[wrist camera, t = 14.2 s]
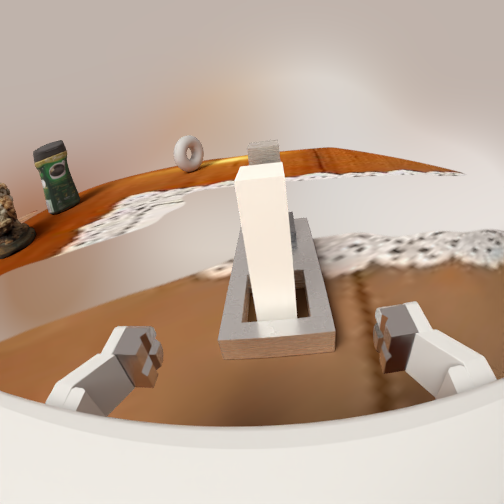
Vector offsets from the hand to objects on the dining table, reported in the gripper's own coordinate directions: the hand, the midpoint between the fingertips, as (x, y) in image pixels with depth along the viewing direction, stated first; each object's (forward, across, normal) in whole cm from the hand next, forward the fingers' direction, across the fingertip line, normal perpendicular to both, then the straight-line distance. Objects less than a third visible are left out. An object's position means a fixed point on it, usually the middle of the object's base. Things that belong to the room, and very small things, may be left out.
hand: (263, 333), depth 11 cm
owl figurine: (+38, +57, +9) cm, 69 cm away
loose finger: (+12, 0, +9) cm, 15 cm away
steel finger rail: (+18, 0, +9) cm, 20 cm away
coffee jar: (+60, +56, +9) cm, 82 cm away
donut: (+74, +22, +10) cm, 78 cm away
